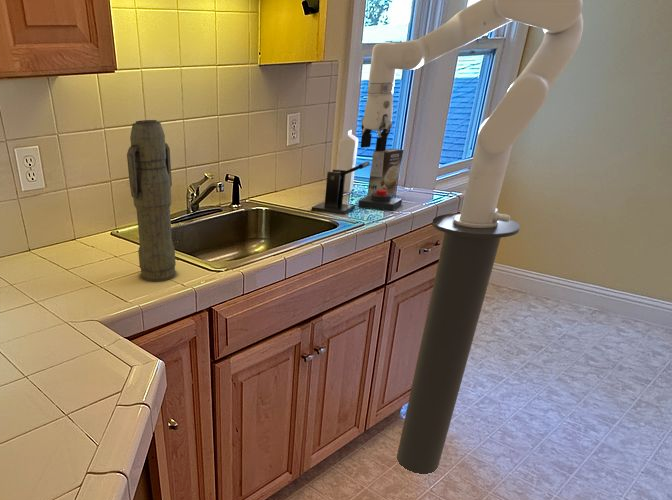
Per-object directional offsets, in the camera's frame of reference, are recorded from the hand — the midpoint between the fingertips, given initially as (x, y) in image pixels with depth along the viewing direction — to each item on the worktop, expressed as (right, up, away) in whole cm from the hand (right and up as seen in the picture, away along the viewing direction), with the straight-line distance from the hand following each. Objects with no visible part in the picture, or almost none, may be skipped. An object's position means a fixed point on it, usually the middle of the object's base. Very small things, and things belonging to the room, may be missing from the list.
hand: (372, 149), depth 164 cm
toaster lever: (-7, -8, +2) cm, 11 cm away
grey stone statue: (-68, -48, -38) cm, 91 cm away
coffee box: (+13, -7, +26) cm, 29 cm away
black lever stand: (-10, -17, +10) cm, 22 cm away
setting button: (+7, -12, +10) cm, 17 cm away
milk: (+1, -2, +36) cm, 36 cm away
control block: (+7, -15, +12) cm, 20 cm away
